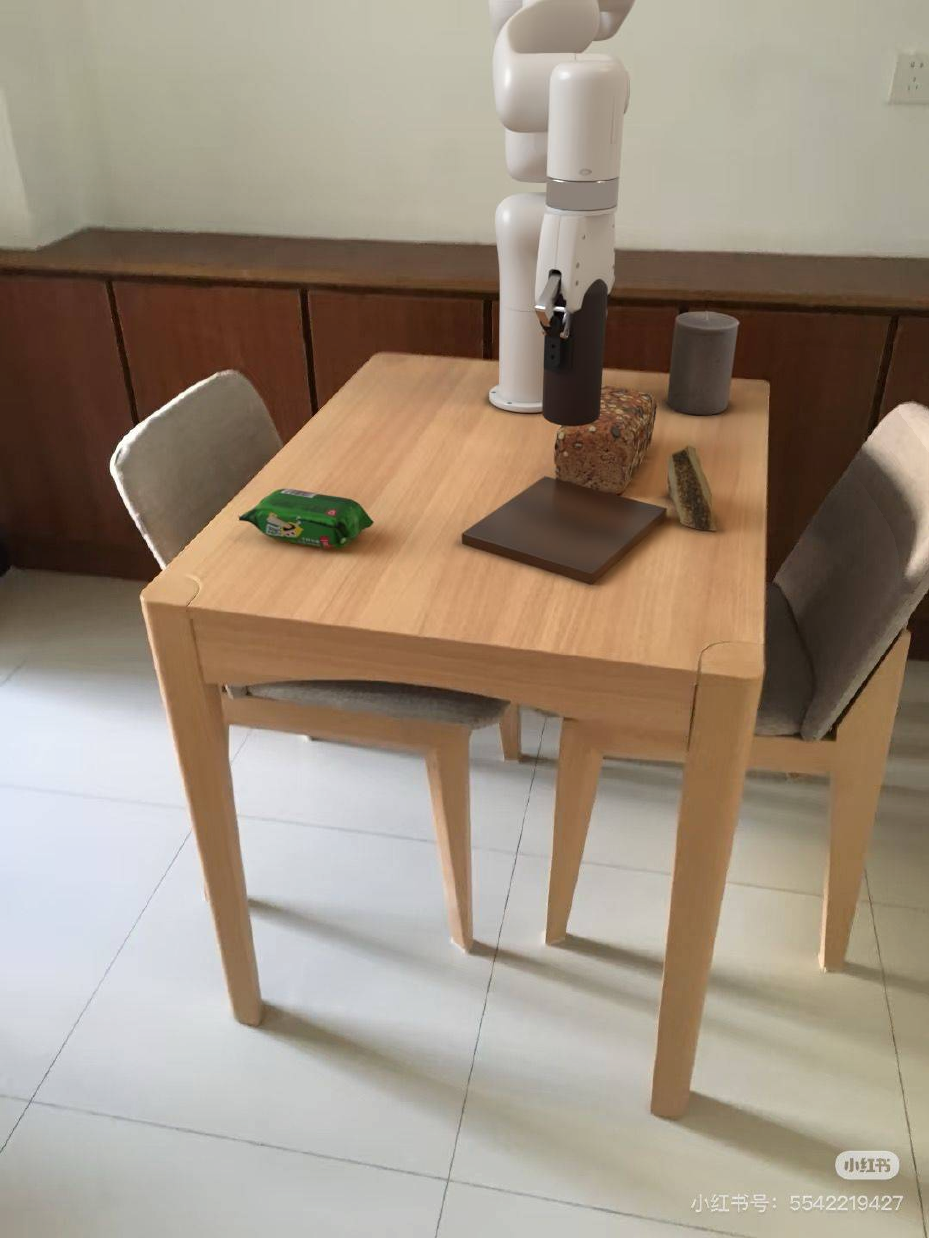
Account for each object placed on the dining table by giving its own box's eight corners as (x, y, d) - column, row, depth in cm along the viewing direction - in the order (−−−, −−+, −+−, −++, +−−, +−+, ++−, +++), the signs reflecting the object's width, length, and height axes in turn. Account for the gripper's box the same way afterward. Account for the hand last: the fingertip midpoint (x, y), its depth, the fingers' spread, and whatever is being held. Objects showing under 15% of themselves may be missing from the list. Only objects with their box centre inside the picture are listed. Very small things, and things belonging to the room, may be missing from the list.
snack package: (266, 515, 132) (261, 478, 130) (377, 533, 128) (374, 495, 125) (238, 540, 127) (232, 502, 124) (352, 560, 122) (349, 521, 119)
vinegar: (595, 405, 123) (606, 232, 112) (603, 427, 117) (616, 246, 107) (539, 407, 123) (544, 232, 112) (544, 428, 117) (551, 246, 106)
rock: (652, 471, 137) (632, 491, 129) (697, 426, 133) (680, 444, 124) (708, 528, 137) (692, 552, 129) (756, 486, 133) (743, 507, 124)
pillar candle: (664, 413, 162) (674, 318, 154) (668, 392, 170) (677, 301, 162) (727, 418, 160) (740, 322, 152) (728, 396, 168) (740, 304, 160)
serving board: (544, 485, 139) (544, 475, 138) (666, 518, 131) (667, 508, 130) (461, 543, 125) (461, 533, 125) (591, 585, 117) (592, 573, 116)
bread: (625, 499, 135) (631, 428, 130) (548, 487, 139) (550, 418, 133) (655, 447, 150) (662, 381, 145) (585, 438, 153) (589, 373, 148)
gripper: (589, 179, 115) (581, 337, 124) (507, 205, 103) (504, 377, 112) (650, 185, 111) (637, 347, 121) (572, 212, 99) (564, 390, 109)
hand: (573, 360), depth 116 cm, fingers closed on vinegar, 6 cm apart
